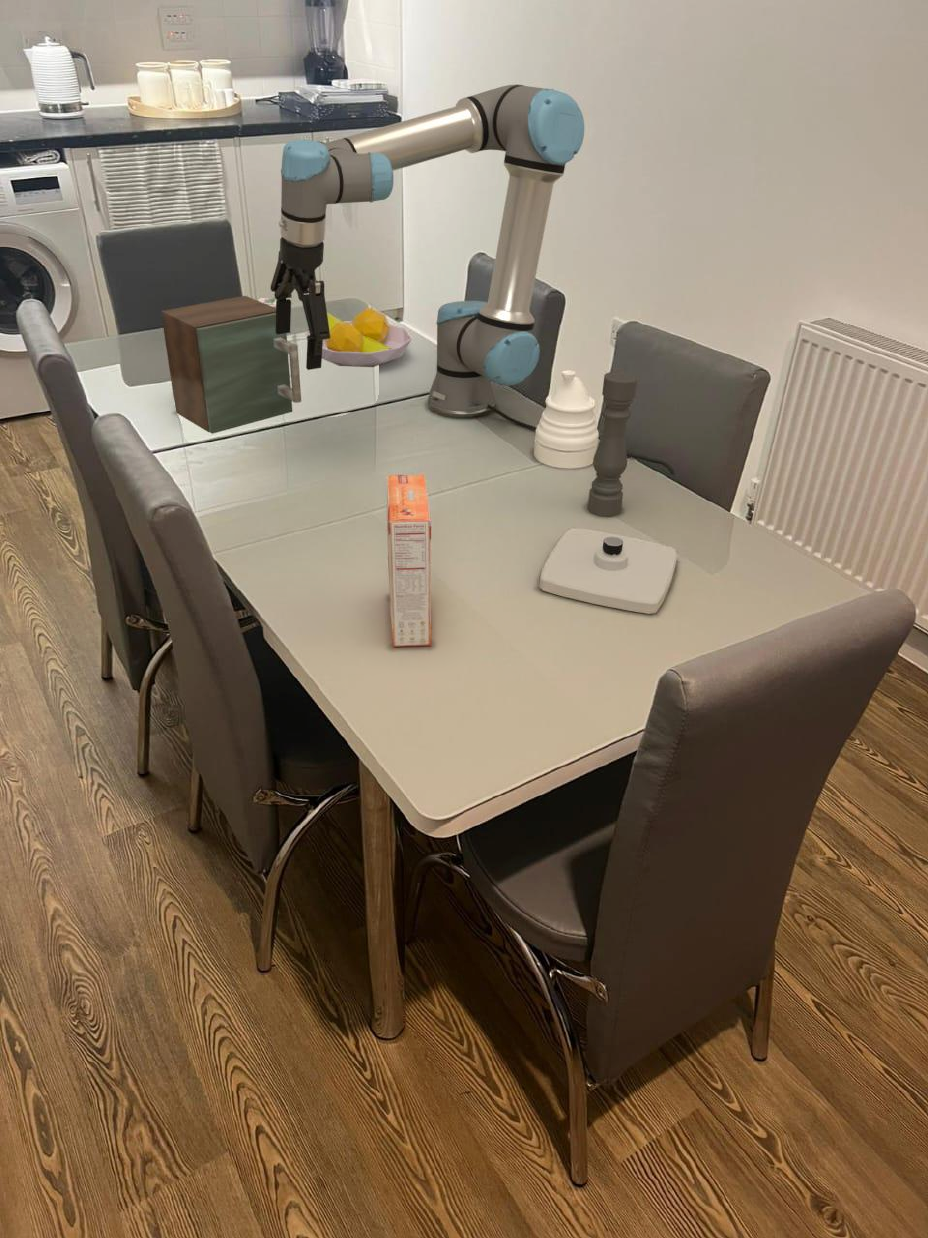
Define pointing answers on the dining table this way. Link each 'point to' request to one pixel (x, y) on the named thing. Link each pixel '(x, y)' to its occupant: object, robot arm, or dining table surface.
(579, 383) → the honey pot
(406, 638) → the cracker box
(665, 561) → the showerhead
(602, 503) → the candle holder
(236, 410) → the cupboard door
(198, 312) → the cupboard
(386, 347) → the fruit bowl
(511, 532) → the dining table surface
